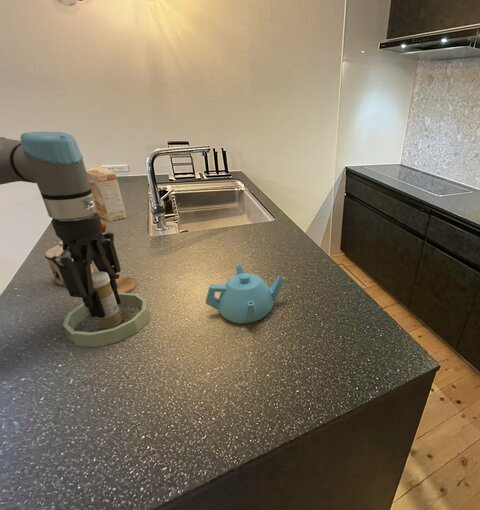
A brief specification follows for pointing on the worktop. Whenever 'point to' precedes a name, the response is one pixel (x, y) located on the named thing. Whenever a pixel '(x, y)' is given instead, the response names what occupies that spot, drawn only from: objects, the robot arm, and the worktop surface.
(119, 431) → the worktop surface
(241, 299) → the teapot
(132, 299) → the green ring
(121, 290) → the coaster
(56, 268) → the teacup with lid
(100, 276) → the sprinkles bottle
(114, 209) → the coffeecake box
